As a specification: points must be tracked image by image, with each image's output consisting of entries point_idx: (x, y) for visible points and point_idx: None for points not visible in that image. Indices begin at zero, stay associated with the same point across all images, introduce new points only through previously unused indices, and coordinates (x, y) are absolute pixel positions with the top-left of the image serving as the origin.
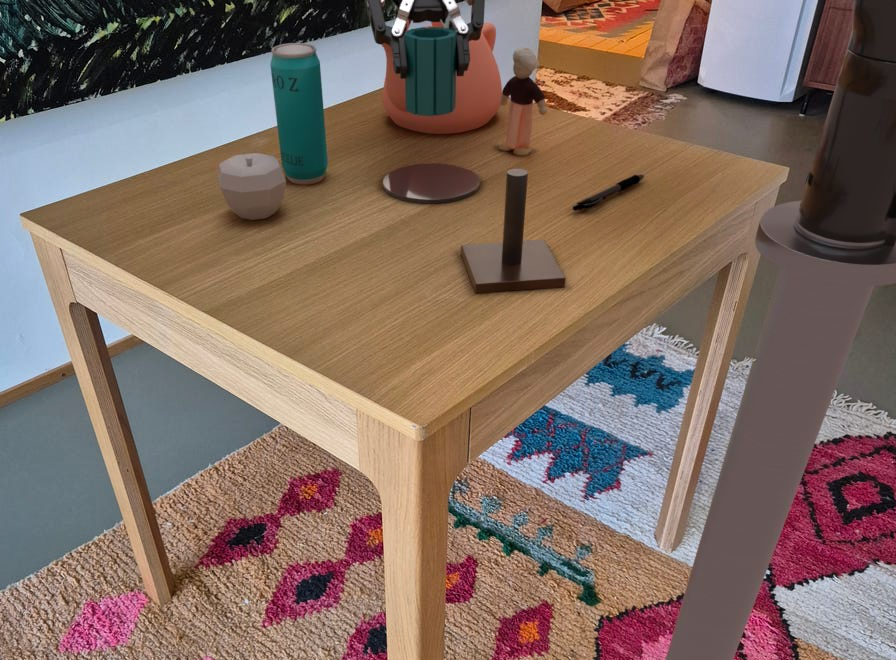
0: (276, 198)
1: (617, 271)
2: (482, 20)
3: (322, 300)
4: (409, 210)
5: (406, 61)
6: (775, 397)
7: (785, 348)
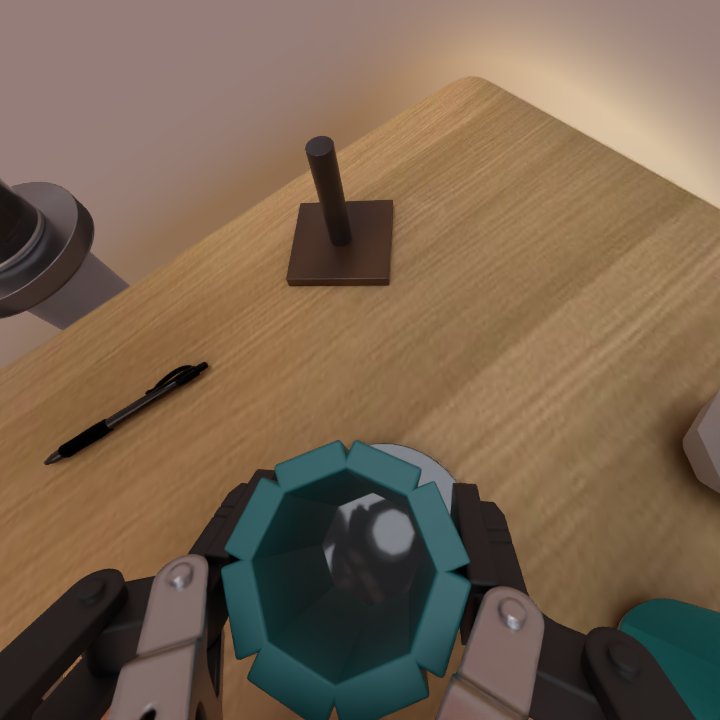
0: (696, 419)
1: (239, 233)
2: (65, 597)
3: (559, 208)
4: (438, 427)
5: (457, 497)
6: None
7: (128, 287)
